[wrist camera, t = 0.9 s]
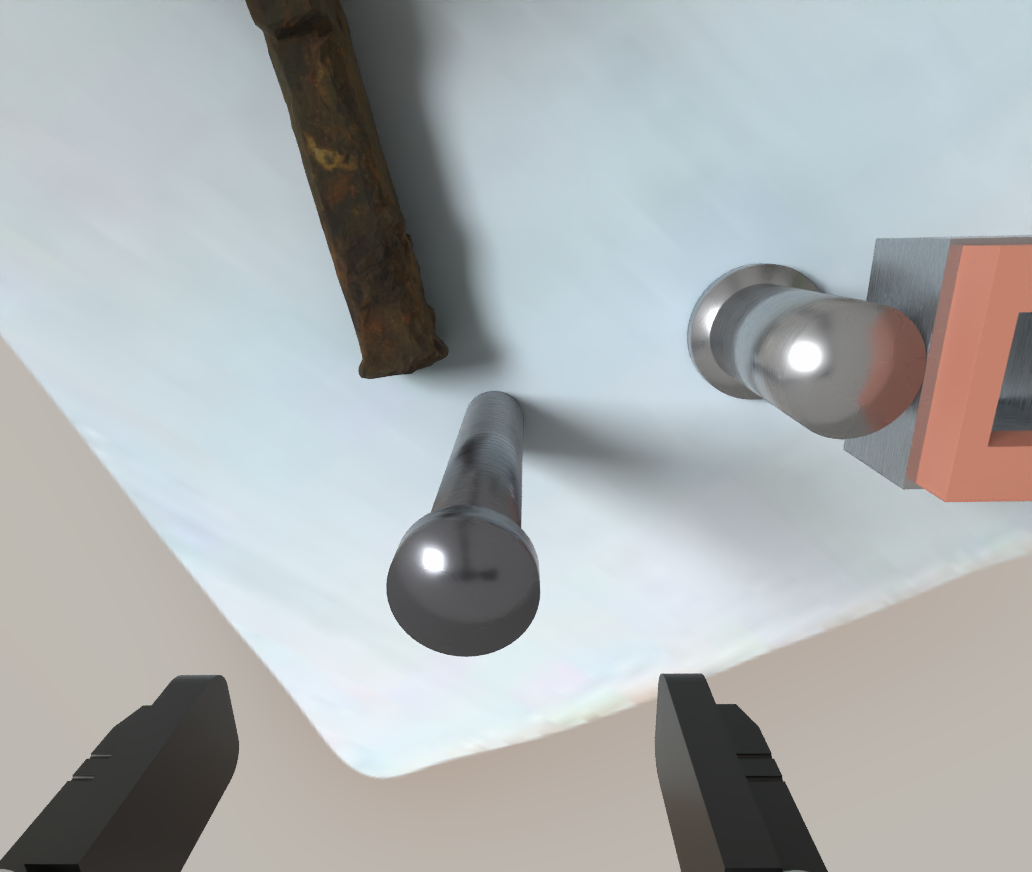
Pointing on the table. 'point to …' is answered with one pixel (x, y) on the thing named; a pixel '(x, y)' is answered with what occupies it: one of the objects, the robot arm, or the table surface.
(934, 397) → the bracket
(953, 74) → the table surface
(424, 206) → the table surface
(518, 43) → the table surface
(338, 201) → the hand tool
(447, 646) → the steel pin
